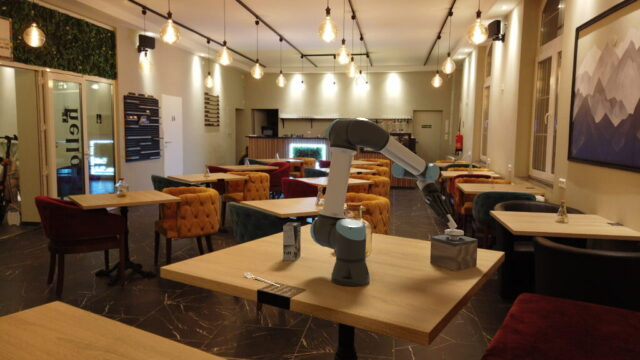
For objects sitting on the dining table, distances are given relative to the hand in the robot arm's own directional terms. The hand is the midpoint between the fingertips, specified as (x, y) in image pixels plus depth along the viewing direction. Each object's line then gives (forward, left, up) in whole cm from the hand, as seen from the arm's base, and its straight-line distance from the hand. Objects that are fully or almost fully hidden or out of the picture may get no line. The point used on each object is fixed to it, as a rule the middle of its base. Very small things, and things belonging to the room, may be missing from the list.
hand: (454, 228), depth 201 cm
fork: (-82, +21, -17) cm, 87 cm away
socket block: (0, 0, -16) cm, 16 cm away
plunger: (0, 0, -15) cm, 15 cm away
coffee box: (-57, +45, -17) cm, 74 cm away
